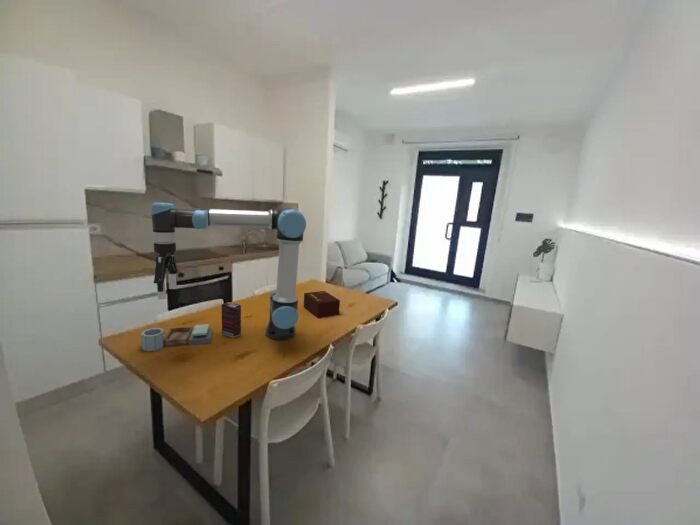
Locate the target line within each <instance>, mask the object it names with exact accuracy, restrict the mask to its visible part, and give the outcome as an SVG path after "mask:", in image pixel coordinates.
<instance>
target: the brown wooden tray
mask: <svg viewBox="0 0 700 525" xmlns="http://www.w3.org/2000/svg"><path fill="white" fill-rule="evenodd" d="M192 329H194V326H180V327H170V329H169V330H168V332H167V334H166V336H164V347H177V346H189V345H188V339H189V337H190V334H191V332H192ZM164 347H163V348H164Z"/></svg>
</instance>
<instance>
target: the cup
mask: <svg viewBox="0 0 700 525" xmlns="http://www.w3.org/2000/svg"><path fill="white" fill-rule="evenodd" d="M140 339H141V350H143V351H144V352H155V351H158V350H161V349H162V348H164V339H165V330H164V329H163V328H160V327H154V328H149V329H145V330H143V331H141V333H140Z"/></svg>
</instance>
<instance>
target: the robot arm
mask: <svg viewBox="0 0 700 525" xmlns="http://www.w3.org/2000/svg"><path fill="white" fill-rule="evenodd" d="M150 215H151V222H152V225H151V226H152V233H151V236H152V237H153V238H152V240H153V242H154V243H153V251H154V253H156V254H158V255H159V256H157V257H155V270H154V278H153V279H154V280H153V284H156V291H157V296H156V297H157V300H166V299H167V289H166V282H165V279H166V274H167V271H168V275H167V276H168V289H169V290H173V289H174V290H177V287H178V286H177V274H179V270H178V264H177V262H176V257H175V252H177V244H176V241H177V239H176V238H177V237H176V228H177V229H195V230H202V229H203V230H204V229H207V228H209V227H210V226H212V227H213V226H214V227H215V226H216V227H244V228H245V227H246V228H247V227H248V228H268V229H269V230H274V231H276V240H277V241H278V242H279V248H278V261H277V262H278V264H277V278H276V289H275V290H272V291H271V292H269V294H270V295H269V320H268V323H267V325H266V327H265V336H266V337H267V338H269V339H271V340H275V341H277V340H278V341H283V340H288V339H291V338H293V337H295V335H296V334H297V333H296V332H297V330H296V326H295V325H296V324H297V323H298V320H299V311H298V305H299V298H298V296H297V295H296V291H297V290H296V286H297V277H298V276H297V275H298V263H299V251H300V244H301V243H303V241H304V233H305V230H306V227H307V221H306V218H305V216H304V214H303V213H302V212H301V211H299V210H298V209H295V208H288V207H287V208H286V207H284V208H275V209H273V208H271V209H269V210H245V209H227V208H225V209H223V208H204V207H203V208H201V207H194V208H191V209H189V208H187V209H186V208H185V209H184V208H182V209H181V208H180V209H179V208H175V204H174V203H170V202H169V203H168V202H153V203H152V204H151V214H150Z"/></svg>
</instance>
